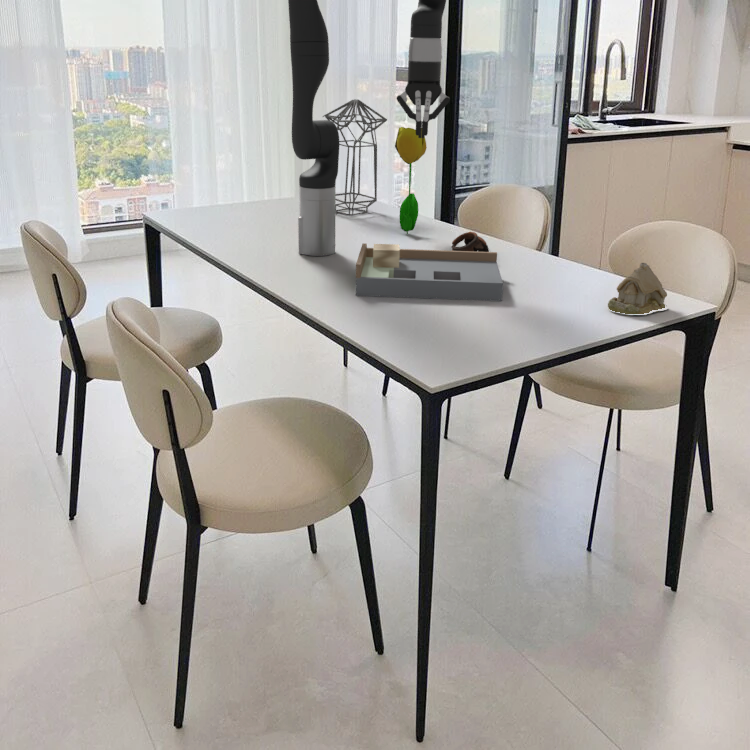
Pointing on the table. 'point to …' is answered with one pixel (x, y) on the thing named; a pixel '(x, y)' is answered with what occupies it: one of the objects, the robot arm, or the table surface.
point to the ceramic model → (639, 293)
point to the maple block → (386, 255)
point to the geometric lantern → (334, 118)
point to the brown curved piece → (470, 243)
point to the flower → (409, 152)
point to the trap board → (431, 275)
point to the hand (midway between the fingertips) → (421, 137)
